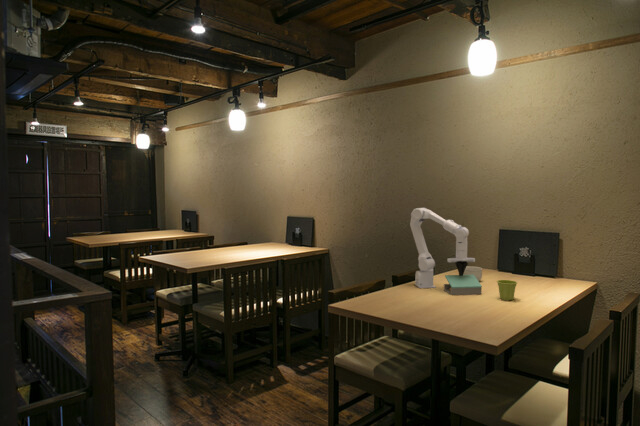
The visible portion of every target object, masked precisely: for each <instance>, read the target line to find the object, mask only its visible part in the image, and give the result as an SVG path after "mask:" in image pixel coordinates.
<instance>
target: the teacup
mask: <svg viewBox="0 0 640 426" xmlns="http://www.w3.org/2000/svg"><path fill="white" fill-rule="evenodd" d="M463 275H475V277H476V278H477V280H478V281H479V282H480V281H481V280H482V279H483V267H480V266H468V265H467V267H466V268H465V271H464V274H463Z"/></svg>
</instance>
